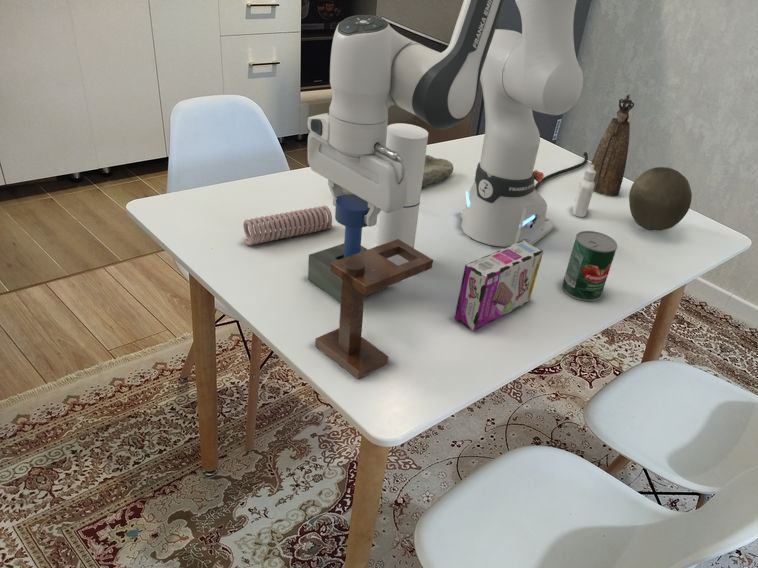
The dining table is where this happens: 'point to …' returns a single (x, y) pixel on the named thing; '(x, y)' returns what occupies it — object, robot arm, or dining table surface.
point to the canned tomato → (589, 265)
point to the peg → (351, 221)
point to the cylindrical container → (412, 152)
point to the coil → (287, 224)
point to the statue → (613, 152)
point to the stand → (357, 281)
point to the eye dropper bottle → (584, 193)
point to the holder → (328, 270)
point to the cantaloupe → (659, 198)
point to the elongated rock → (430, 171)
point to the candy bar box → (497, 284)
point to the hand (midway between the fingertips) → (354, 215)
